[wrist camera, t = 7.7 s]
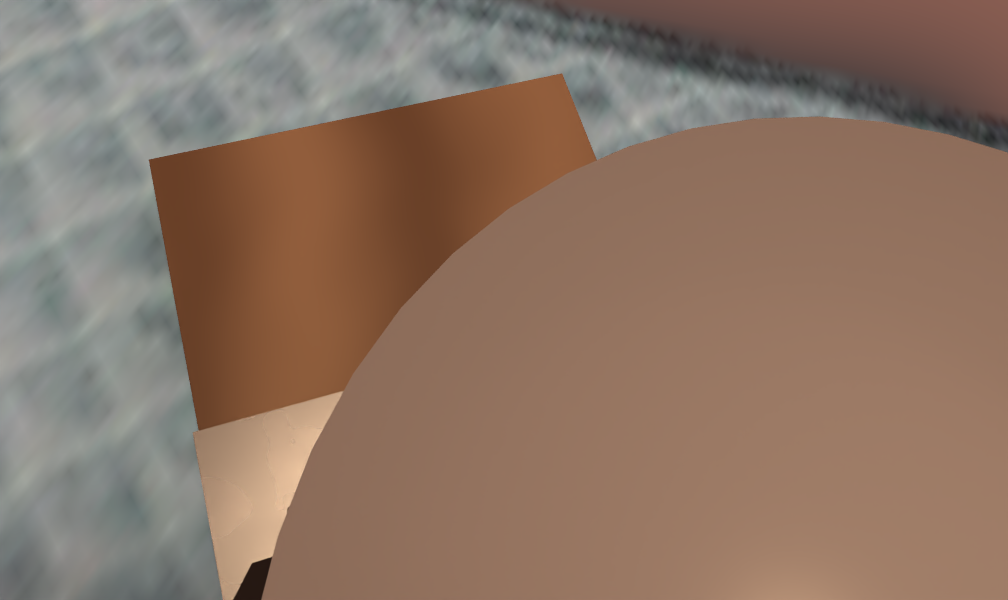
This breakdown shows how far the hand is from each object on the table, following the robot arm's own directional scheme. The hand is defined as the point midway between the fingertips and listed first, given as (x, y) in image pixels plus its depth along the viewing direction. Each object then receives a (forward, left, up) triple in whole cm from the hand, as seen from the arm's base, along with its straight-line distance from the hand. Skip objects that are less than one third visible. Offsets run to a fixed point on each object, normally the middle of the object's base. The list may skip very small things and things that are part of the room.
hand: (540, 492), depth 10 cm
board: (0, +8, -10) cm, 13 cm away
